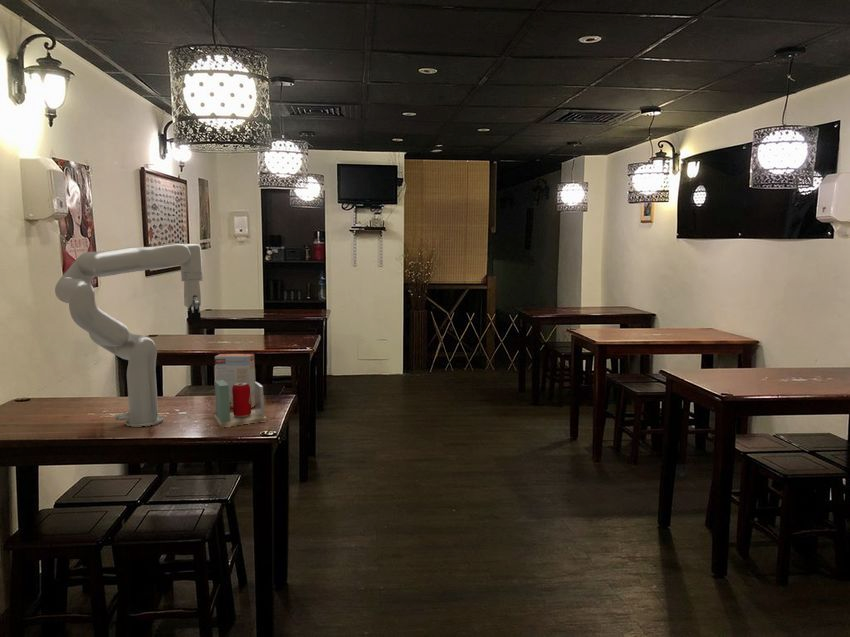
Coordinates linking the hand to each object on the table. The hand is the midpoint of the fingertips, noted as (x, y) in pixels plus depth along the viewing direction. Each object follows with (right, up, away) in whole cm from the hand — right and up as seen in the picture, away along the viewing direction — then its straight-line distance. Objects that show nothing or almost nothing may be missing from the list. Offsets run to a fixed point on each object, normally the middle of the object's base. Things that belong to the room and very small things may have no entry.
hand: (194, 322), depth 247 cm
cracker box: (+14, -34, +9) cm, 37 cm away
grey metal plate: (+27, -34, -7) cm, 43 cm away
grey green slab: (+15, -34, -13) cm, 40 cm away
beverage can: (+21, -34, -10) cm, 41 cm away
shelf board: (+20, -36, -10) cm, 42 cm away
